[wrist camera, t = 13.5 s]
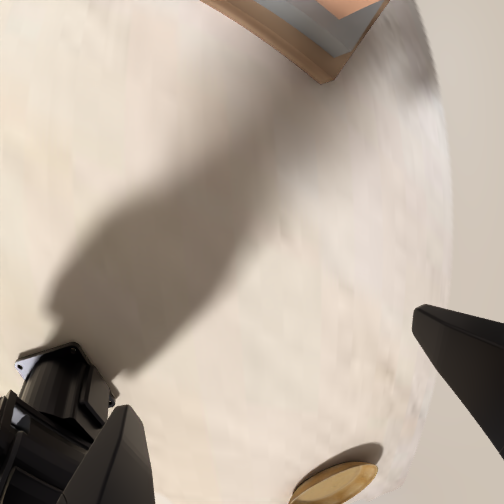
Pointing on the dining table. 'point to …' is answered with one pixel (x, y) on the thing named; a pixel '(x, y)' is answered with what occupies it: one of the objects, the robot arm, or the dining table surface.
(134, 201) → the dining table surface
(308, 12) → the tower top slab
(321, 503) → the plant saucer
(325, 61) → the tower base slab
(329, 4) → the terracotta block
